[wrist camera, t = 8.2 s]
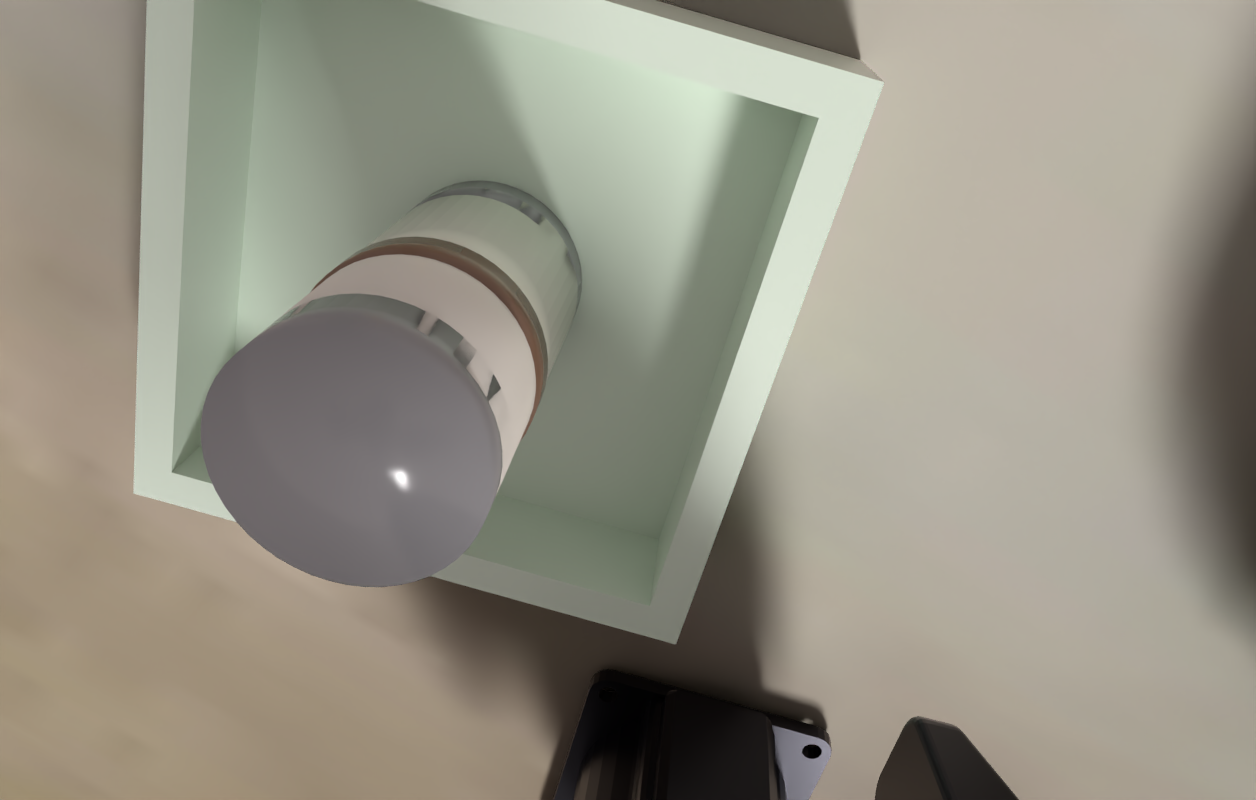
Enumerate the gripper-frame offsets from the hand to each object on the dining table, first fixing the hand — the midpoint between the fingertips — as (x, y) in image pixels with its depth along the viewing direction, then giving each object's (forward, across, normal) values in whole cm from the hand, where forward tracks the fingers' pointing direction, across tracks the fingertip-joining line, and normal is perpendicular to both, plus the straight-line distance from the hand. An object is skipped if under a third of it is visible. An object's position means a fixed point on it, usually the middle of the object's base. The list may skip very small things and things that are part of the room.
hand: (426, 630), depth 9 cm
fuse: (+12, +2, +1) cm, 12 cm away
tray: (+12, +2, +1) cm, 13 cm away
